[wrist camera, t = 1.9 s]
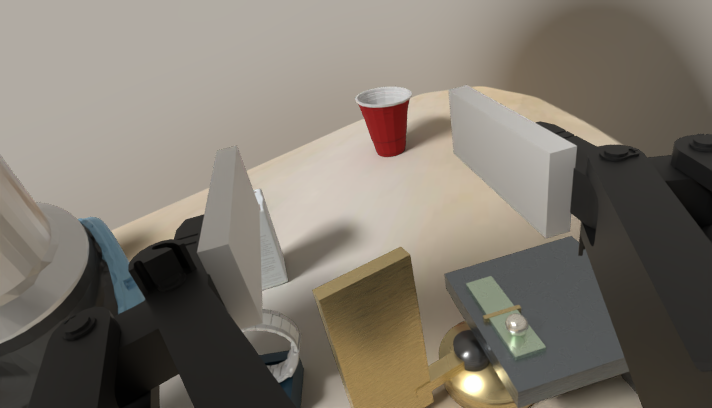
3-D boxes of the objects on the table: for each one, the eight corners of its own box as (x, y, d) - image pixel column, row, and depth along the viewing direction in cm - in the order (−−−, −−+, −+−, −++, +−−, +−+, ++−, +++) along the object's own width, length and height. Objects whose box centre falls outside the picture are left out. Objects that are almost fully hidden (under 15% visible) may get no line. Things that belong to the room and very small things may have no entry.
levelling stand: (449, 322, 47) (442, 257, 42) (566, 285, 48) (572, 218, 43) (517, 444, 35) (518, 373, 30) (671, 392, 36) (695, 315, 31)
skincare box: (256, 266, 62) (227, 196, 56) (285, 257, 63) (260, 186, 56) (259, 293, 57) (227, 219, 51) (291, 282, 57) (264, 208, 51)
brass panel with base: (358, 440, 37) (308, 292, 28) (475, 320, 46) (465, 177, 37) (442, 525, 31) (413, 369, 22) (559, 366, 39) (573, 207, 30)
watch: (246, 377, 46) (209, 304, 40) (320, 366, 45) (292, 290, 39) (235, 428, 41) (191, 353, 35) (317, 416, 40) (285, 337, 35)
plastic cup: (419, 159, 81) (412, 98, 75) (364, 166, 83) (352, 107, 77) (418, 136, 90) (411, 80, 84) (368, 143, 92) (357, 89, 86)
